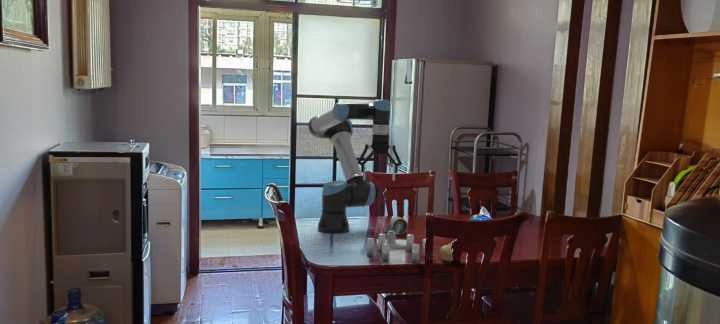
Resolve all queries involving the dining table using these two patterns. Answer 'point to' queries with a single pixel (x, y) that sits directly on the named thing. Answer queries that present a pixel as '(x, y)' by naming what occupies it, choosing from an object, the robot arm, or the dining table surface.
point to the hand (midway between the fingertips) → (378, 180)
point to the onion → (446, 253)
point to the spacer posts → (386, 246)
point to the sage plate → (397, 244)
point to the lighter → (393, 234)
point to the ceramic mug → (394, 222)
